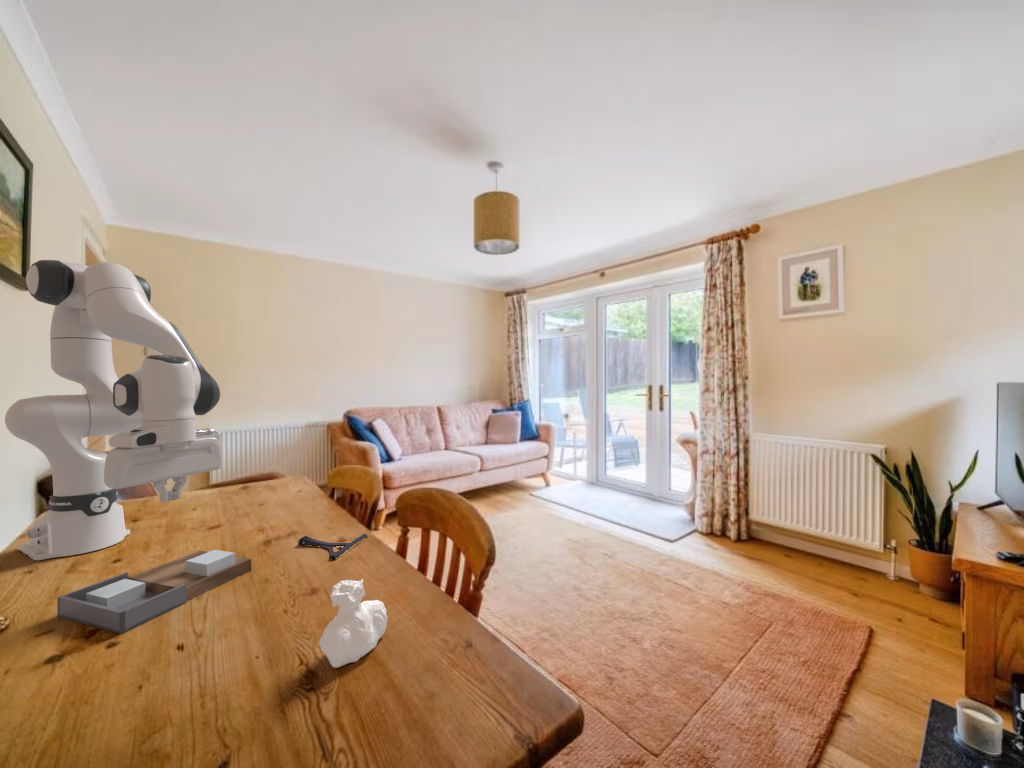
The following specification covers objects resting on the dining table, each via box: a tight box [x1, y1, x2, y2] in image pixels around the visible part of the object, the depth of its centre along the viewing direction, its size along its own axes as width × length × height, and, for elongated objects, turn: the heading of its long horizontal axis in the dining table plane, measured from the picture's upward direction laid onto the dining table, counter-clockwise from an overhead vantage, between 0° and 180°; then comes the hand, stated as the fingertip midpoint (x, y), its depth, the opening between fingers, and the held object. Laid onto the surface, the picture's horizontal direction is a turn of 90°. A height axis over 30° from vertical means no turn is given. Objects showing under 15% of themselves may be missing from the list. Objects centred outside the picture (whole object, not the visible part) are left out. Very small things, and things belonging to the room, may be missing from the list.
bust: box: [318, 579, 389, 669], centre depth 64 cm, size 12×8×11 cm
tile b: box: [186, 549, 236, 576], centre depth 87 cm, size 6×6×2 cm
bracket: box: [297, 533, 368, 560], centre depth 105 cm, size 14×15×3 cm
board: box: [128, 550, 252, 602], centre depth 87 cm, size 16×14×2 cm
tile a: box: [86, 579, 146, 608], centre depth 78 cm, size 6×6×2 cm
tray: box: [56, 571, 187, 635], centre depth 76 cm, size 17×10×4 cm, turn 72°
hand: (170, 500), depth 85 cm, fingers closed
